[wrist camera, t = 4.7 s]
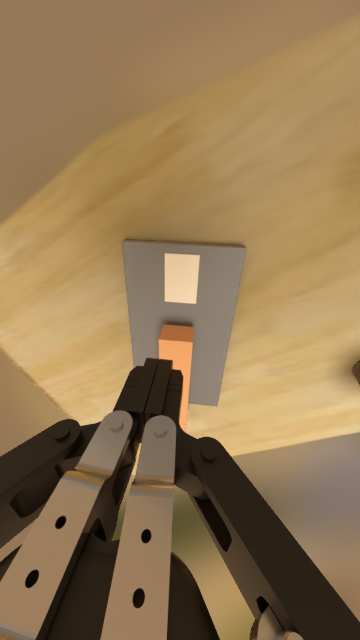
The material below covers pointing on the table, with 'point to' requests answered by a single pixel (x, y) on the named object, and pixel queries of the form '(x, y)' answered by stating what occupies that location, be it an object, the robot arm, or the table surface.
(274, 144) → the table surface
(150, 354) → the label board
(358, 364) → the beverage cup
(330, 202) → the table surface
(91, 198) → the table surface
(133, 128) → the table surface
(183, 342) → the swing bar
